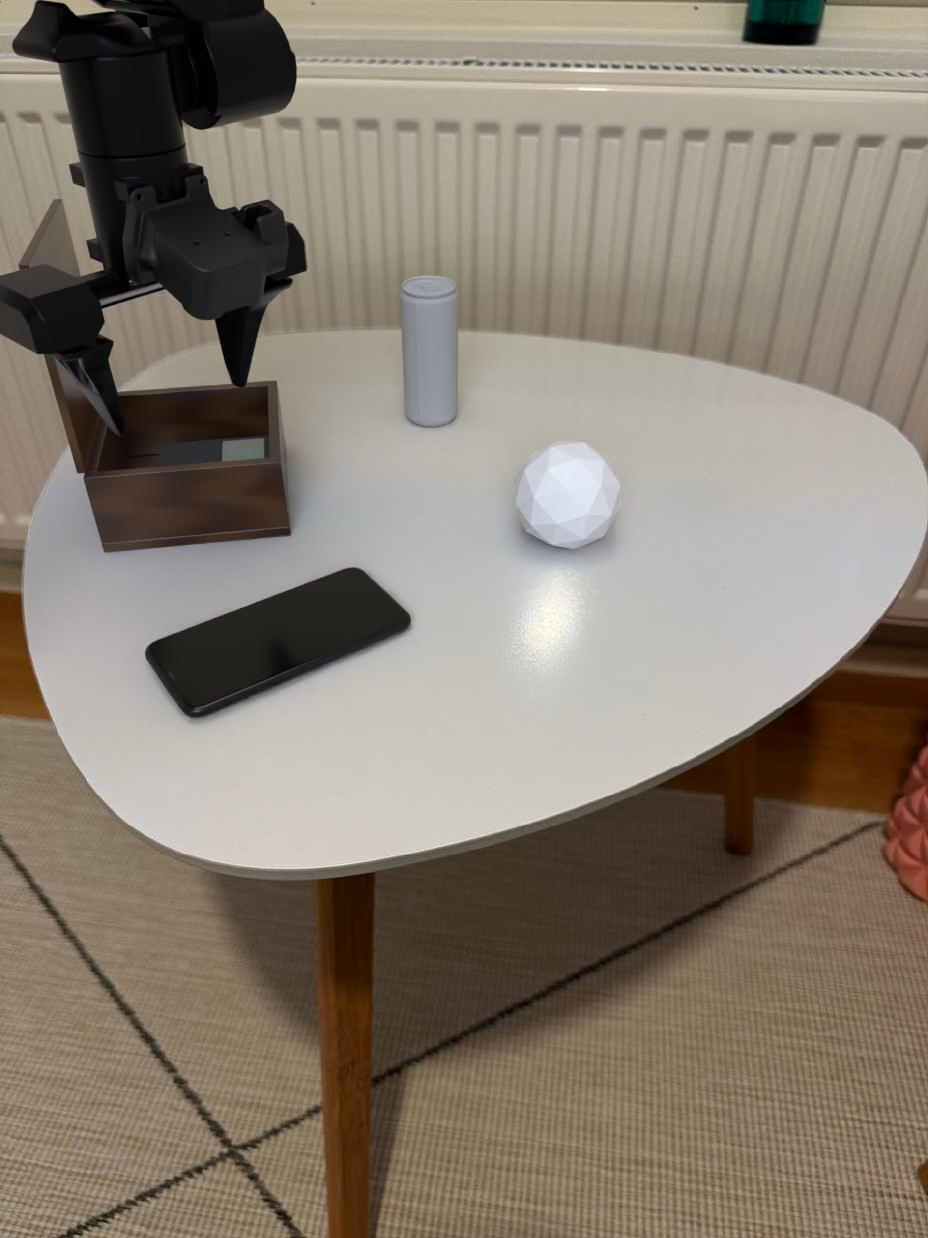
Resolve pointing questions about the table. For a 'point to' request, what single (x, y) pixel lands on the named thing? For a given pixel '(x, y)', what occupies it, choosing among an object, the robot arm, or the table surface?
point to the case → (189, 469)
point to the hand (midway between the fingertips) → (181, 408)
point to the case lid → (73, 405)
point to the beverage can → (430, 349)
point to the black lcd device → (213, 450)
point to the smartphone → (274, 640)
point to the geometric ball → (567, 494)
